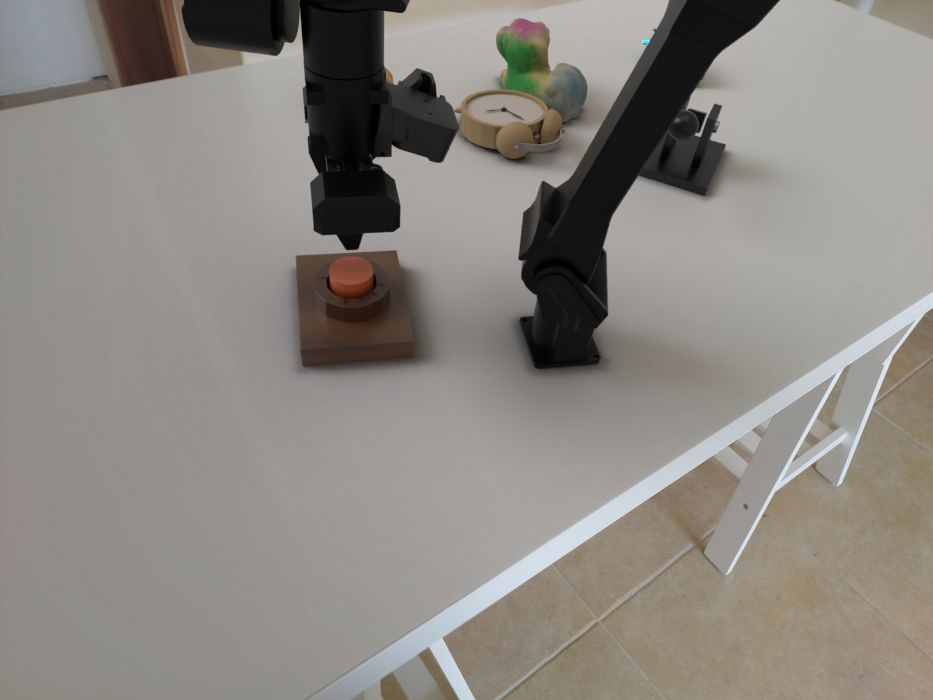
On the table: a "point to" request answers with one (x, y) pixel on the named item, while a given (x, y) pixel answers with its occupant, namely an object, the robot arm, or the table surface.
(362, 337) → the button block
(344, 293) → the button
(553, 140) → the alarm clock
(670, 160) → the bracket
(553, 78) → the sculpture
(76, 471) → the table surface
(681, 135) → the lever
